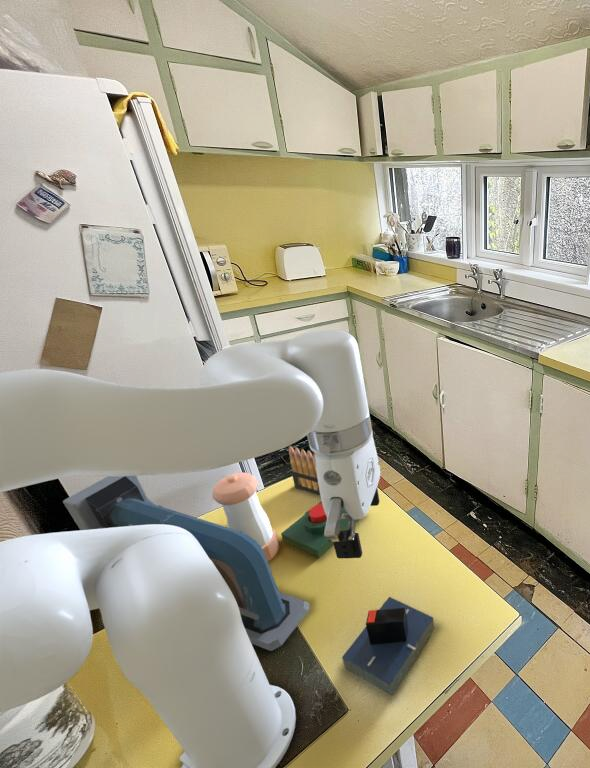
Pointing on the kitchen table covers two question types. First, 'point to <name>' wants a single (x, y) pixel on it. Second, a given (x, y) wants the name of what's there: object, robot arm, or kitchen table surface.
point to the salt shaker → (246, 510)
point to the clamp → (222, 545)
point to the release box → (311, 534)
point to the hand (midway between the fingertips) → (360, 528)
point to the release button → (317, 514)
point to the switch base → (389, 651)
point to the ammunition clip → (304, 470)
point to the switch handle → (387, 626)
